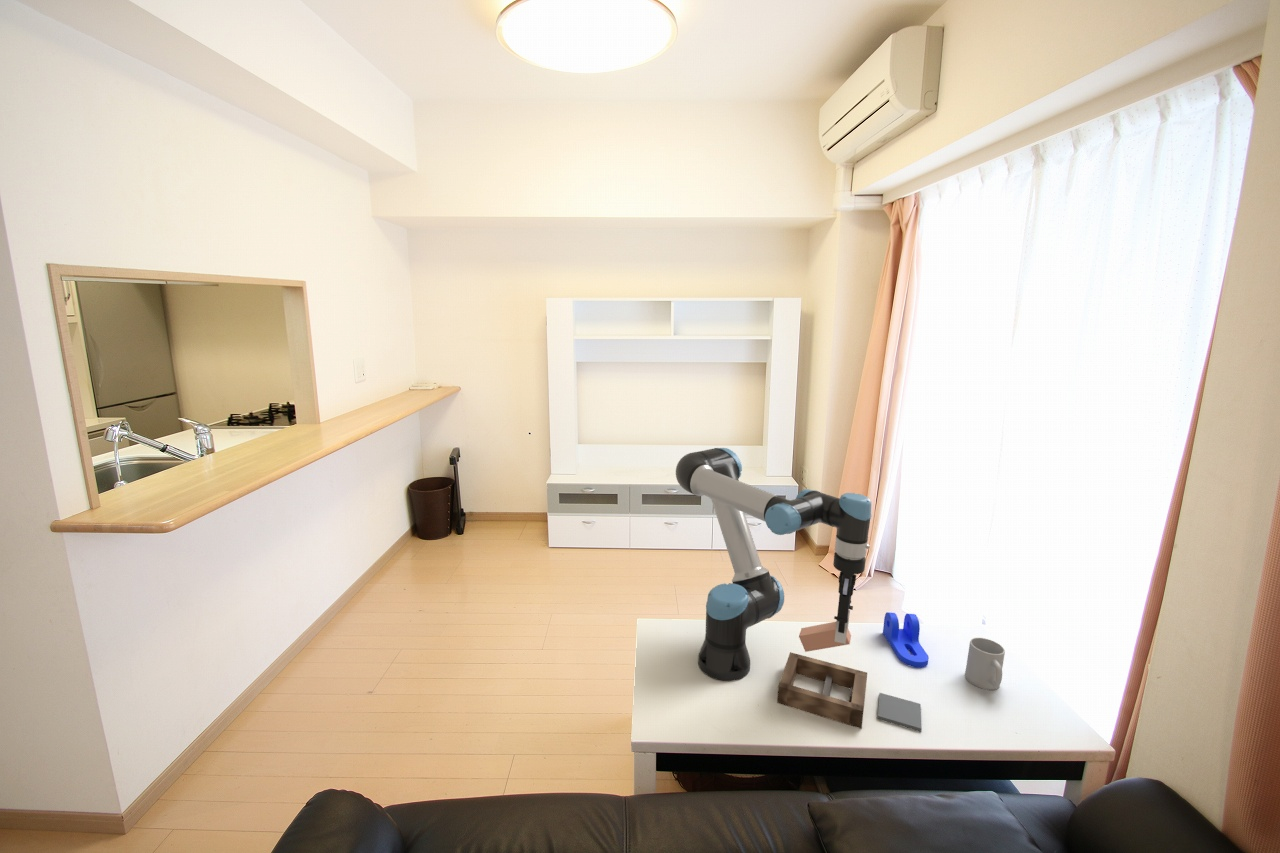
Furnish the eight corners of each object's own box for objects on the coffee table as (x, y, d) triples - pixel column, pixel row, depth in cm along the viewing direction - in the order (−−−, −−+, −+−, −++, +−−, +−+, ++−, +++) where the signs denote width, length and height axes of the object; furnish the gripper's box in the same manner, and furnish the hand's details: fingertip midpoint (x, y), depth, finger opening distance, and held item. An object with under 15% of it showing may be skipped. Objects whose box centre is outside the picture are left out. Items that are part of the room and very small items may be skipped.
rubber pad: (877, 719, 141) (878, 715, 141) (879, 695, 150) (879, 692, 149) (921, 732, 137) (921, 728, 136) (920, 707, 145) (920, 703, 145)
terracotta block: (805, 651, 147) (798, 636, 147) (807, 643, 151) (801, 628, 151) (849, 644, 142) (842, 628, 142) (851, 635, 145) (844, 619, 146)
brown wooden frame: (777, 702, 146) (778, 686, 145) (788, 667, 161) (790, 652, 160) (861, 728, 137) (863, 711, 136) (865, 688, 152) (867, 672, 151)
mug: (959, 670, 162) (964, 636, 159) (989, 672, 161) (994, 638, 159) (980, 697, 150) (986, 661, 148) (1013, 699, 149) (1019, 663, 147)
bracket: (882, 633, 180) (885, 608, 179) (908, 635, 180) (912, 609, 178) (903, 667, 163) (906, 639, 161) (932, 669, 162) (936, 641, 160)
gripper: (863, 571, 130) (853, 659, 135) (867, 544, 146) (858, 624, 151) (830, 564, 134) (821, 650, 138) (838, 539, 149) (830, 617, 154)
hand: (841, 636), depth 144 cm, fingers closed on terracotta block, 4 cm apart
